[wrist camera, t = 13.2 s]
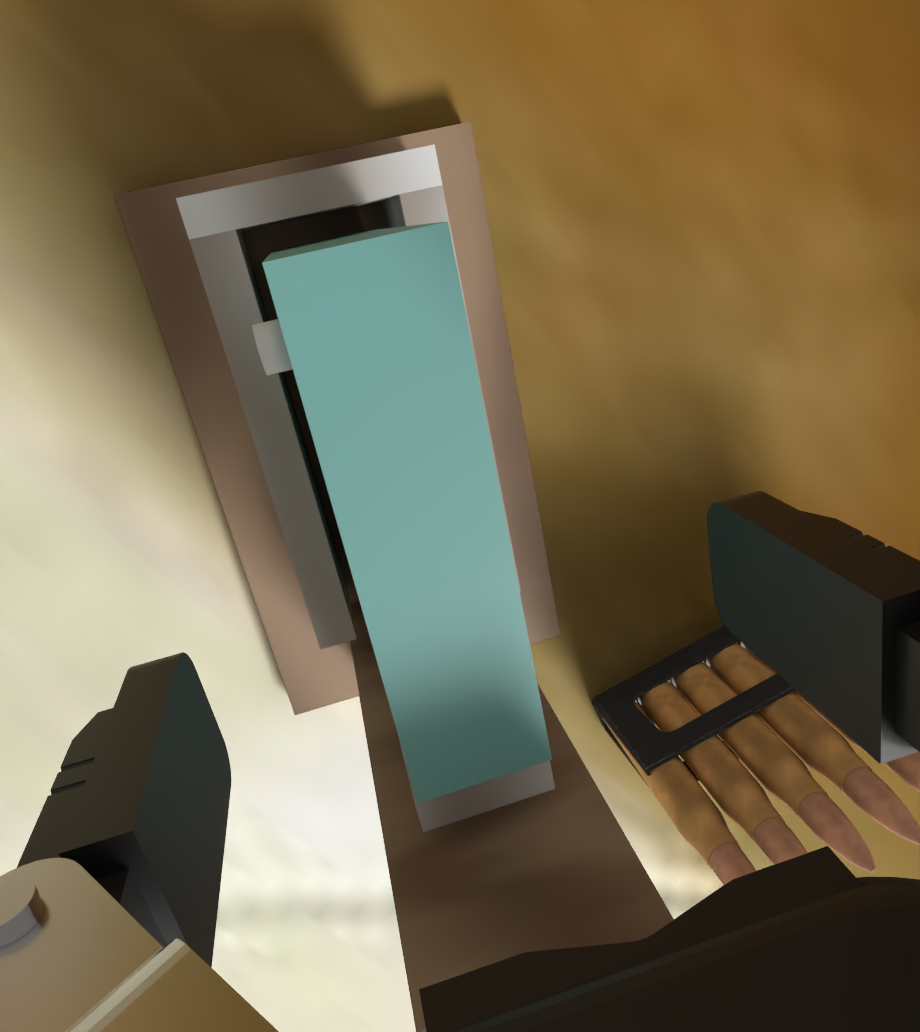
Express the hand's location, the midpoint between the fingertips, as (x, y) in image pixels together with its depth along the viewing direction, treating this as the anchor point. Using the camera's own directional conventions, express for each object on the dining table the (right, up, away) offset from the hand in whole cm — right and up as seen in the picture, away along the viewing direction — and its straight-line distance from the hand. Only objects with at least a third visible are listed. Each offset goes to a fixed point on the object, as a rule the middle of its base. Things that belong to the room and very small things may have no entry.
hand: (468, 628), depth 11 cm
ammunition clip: (+11, -5, +23) cm, 26 cm away
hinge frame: (-3, +4, +16) cm, 17 cm away
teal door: (-4, +5, +15) cm, 16 cm away
